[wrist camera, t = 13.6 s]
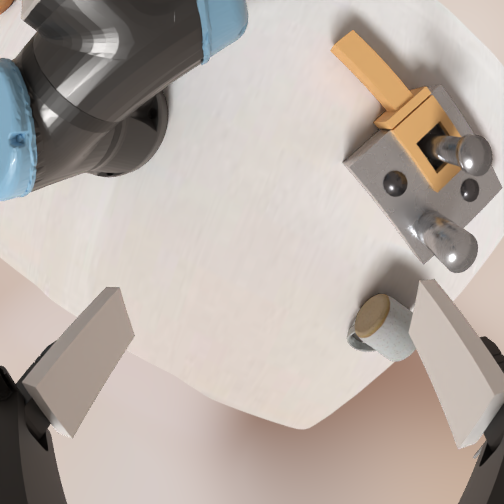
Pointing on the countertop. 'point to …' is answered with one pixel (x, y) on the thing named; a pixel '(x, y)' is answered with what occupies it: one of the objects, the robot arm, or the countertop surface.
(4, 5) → the onion
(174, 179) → the countertop surface
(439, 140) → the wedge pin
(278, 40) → the countertop surface
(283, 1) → the countertop surface
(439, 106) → the bracket
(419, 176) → the grey latch block
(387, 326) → the ceramic mug
